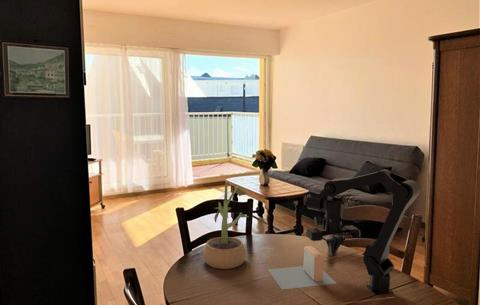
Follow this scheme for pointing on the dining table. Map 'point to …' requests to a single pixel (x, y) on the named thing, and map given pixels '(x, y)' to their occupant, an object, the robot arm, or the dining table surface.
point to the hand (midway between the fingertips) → (332, 255)
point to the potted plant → (225, 240)
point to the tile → (313, 263)
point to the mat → (297, 278)
